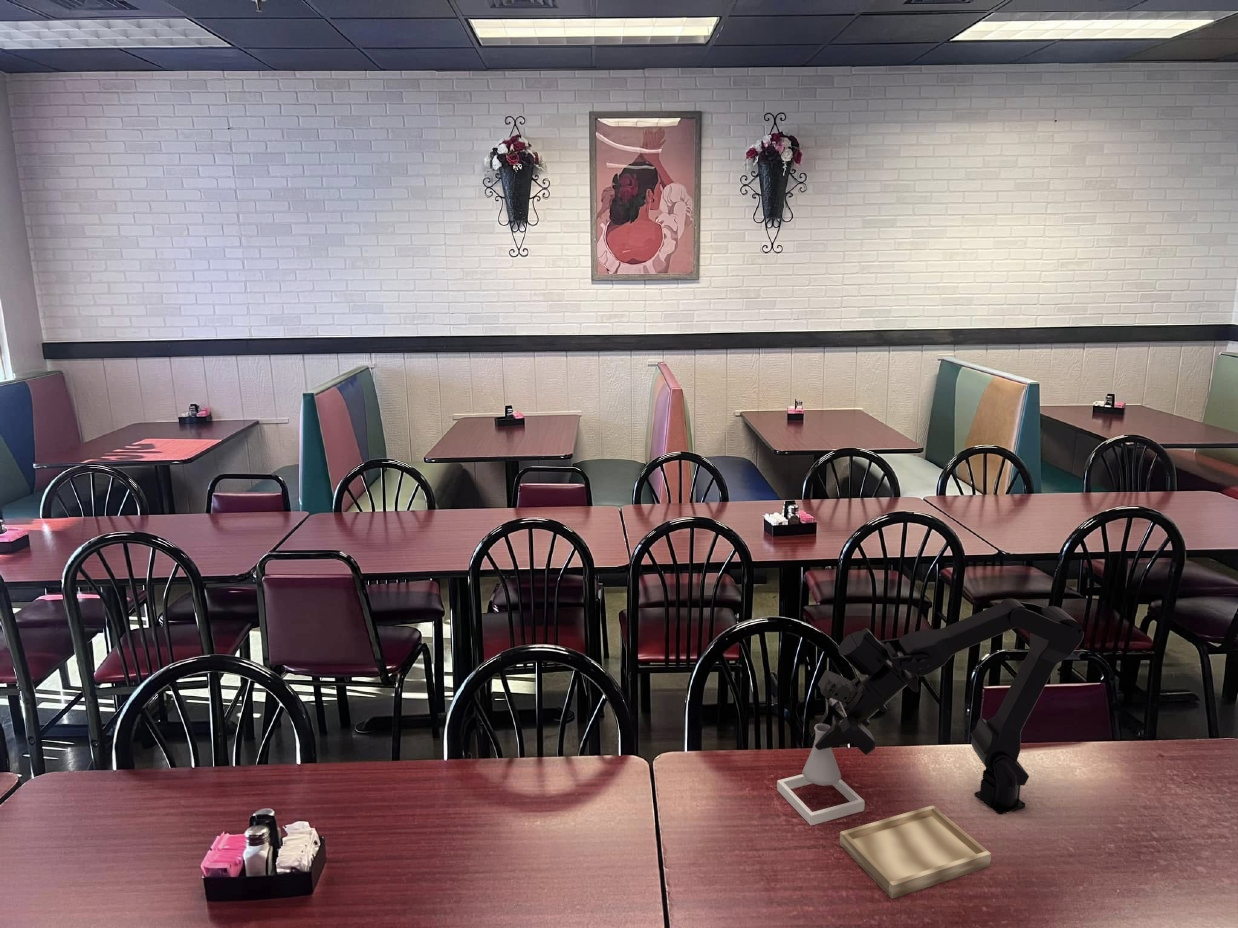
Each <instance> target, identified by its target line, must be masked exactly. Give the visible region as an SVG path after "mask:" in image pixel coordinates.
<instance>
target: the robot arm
mask: <svg viewBox="0 0 1238 928" xmlns="http://www.w3.org/2000/svg"><path fill="white" fill-rule="evenodd" d="M1016 628H1017V629H1021V630H1024V631H1026V632H1029V649H1028V652H1027V654H1026V656H1025V658H1024V660H1023V661H1022V663H1021V665H1020V667H1019V669H1018V671H1017V673H1016V675H1015V677H1014V679H1013V680H1012V683H1011V685H1010V686H1009V688H1008V691H1007V692H1006V695H1005V696H1004V698H1003V700H1002V702H1001V704H1000V706H999V708H998V709H997V711H996V713H995V715H994V716H991V718H989V719H987V720H986V719H984V718H982V717H980V718H979V719H978V721H977V723H976V726H975V728H974V730H973V731H972V732H970V734H969V735H970V736H971V740H970V742H971V743H970V744H971V747H972V749H973V751H974V753H975V754H976V756H977V757H978V758H979V760H980V761H981V763H982V764H983V766H984V767H985V769H983V771H982V779H981V780H980V790H979V791H975V792H974V797H975V798H977V799H978V800H979V801H980V802H982V803H984V804H985V805H986V806H987V807H989V808H990V809H991V810H992V811H994V812H995V813H996V814H998V815H1004V814H1007V813H1011V812H1013V811H1016V810H1021V809H1023V808H1026V802H1024V801H1023V800H1021V799H1020V794H1021V786H1025V785H1026V783H1027V782H1028V780H1029V778H1030V775H1029V774H1028V772H1027V771H1026V770H1025V769H1024V767H1023V766H1022V764H1021V763H1020V762H1019V760H1018V759H1019V756H1020V753H1021V742H1022V739H1021V738H1022V731H1023V728H1024V726H1025V725H1026V723H1027V721H1028V719H1029V718H1030V716H1031V713H1032V712H1033V710H1034V707H1036V704H1037V702H1038V700H1039V698H1040V697H1041V695H1042V692H1043V691H1044V689H1045V687H1046V685H1047V683H1048V681H1049V679H1050V677H1051V675H1052V673H1053V672H1054V671H1055V670H1054V669H1055V668H1056V667H1057V665H1058V664H1059V663H1061V662H1062V661H1064V660H1066V659H1068V658H1069V657H1071V656H1072V655H1073V653H1074V652H1075V651H1076V649H1077V648H1078V647H1079V645H1081V643H1082V641H1083V639H1084V637H1085V631H1084V630H1083V627H1082V625H1081V623H1079V622H1078V620H1075V619H1074V617H1072V616H1071V615H1069V614H1068V613H1067V612H1066V611H1065V610H1063V609H1062V608H1061V607H1058V606H1054V605H1049V606H1046V607H1045V606H1042V605H1038V604H1035V603H1032V602H1025V601H1019V600H1018V599H1015V598H1009V597H1008V598H1005V599H1003V600H1002V601H1000V603H998V604H995V605H993V606H991V607H989V608H987V609H984V610H982V611H979V612H977V613H974V614H972V615H971V616H968V617H966V618H962V619H961V620H959V621H957V622H954V623H952V624H949V625H946V626H944V627H941V628H937V629H936V628H935V629H921V630H917V631H914V632H913V631H912V632H910V633H906V634H904V635H903V636H902V637H899V638H898V637H897V638H890V639H884V640H878V639H877V638H876V637H875V636H874V635H873V633H872V632H871V630H869V628H867V627H864V628H863V629H862V630H861V631H859V630H857V631H854V632H852V633H851V634H850V633H849V634H847V636H845V637H844V639H843V640H842V641H841V643H839V647H838V649H837V650H838V651H837V652H838V654H839V656H841V657H842V658H843V659H844V660H845V661H847V662H848V664H850V666H852V667H853V668H854V669H855V671H857V673H859V674H860V675H862V676H865V677H864V678H861V677H860V676H858V677H857V676H856V677H855V678H853V679H852V680H850V679H848V678H846V677H844V676H842V675H840V674H837V673H835V672H833V671H830V670H829V669H828V670H824V673H823V674H822V676H821V678H820V680H819V681H818V682H817V686H818V687H819V688H820V693H821V695H822V696H824V697H825V699H824V700H825V712H824V714H823V715H822V717H821V719H820V721H819V722H818V724H822V723H823V724H827V725H830V729H829V730H828V731H827V732H826V733H825V734H824V735H823V736H822V737H821V738H820V739H819V741H818V742H817V743H816V744H815V748H817V749H818V750H822V749H826V748H830V747H832V748H835V747H839V746H844V745H851V744H853V745H854V746H855V747H856V748H857V749H858V750H859V751H860V752H862V753H863V754H864V755H865V756H868V755H869V754H870V753H872V752H873V751H874V750H875V749H876V741H875V739H874V736H873V735H872V732H871V731H870V730H869V729H868V728H867V727H869V726H870V725H871V722H870V720H869V719H870V718H871V717H872V716H874V715H875V714H876V713H877V712H878V711H880V712H882V713H884V712H886V711H887V710H888V708H887V707H886V704H888V702H890V701H891V700H892V699H893V698H894V697H895V696H897V695H898V694H899V693H900V692H901V691H902V690H904V688H906V687H908V688H909V689H910V690H911V691H912V692H914V693H918V692H919V679H920V678H919V677H925V676H928V675H930V674H932V673H934V672H935V671H937V670H938V669H940V668H942V667H943V666H945V664H946V663H947V662H948V661H949V660H950V659H951V658H952V656H955V655H956V654H957V653H959V652H961V651H964V650H966V649H969V648H971V647H973V646H976V645H978V644H981V643H983V642H985V641H988V640H990V639H992V638H995V637H997V636H1001V634H1004V633H1007V632H1009V631H1011V630H1014V629H1016ZM815 736H816V731H815V730H814V732H813V733H812V734H811V739H812V740H814V741H815Z"/></svg>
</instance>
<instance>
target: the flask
mask: <svg viewBox="0 0 1238 928" xmlns="http://www.w3.org/2000/svg"><path fill="white" fill-rule="evenodd" d="M813 729H814V731H816V736H815V740H814V741H813V745H812V748H811V751H810V753H809V756H808V758H807V760H806V762H805V765H804V767H803V769H802V772H801V773H802V774H803V776H804V777H805V779H806V781H807V782H811V783H812V784H814V785H818V786H822V787H823V786H824V787H825V786H833V785H836V784H838V782H839V780H840V779H841V778H842V773H841V772H840V768H839V765H838V763H837V761H836V758H835V754H834V751H833V747H830V748H826V749H822V750H818V749H817V748H815V744H816V743H817V742H818V741H819V739H820V738H821V737H822V736H823V735H824V734H825V733H826V732H827V731H828V730H829V729H830V725H827V724H823V723H822V724H819V723H816V724H815V725H814V727H813Z"/></svg>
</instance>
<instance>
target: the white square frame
mask: <svg viewBox="0 0 1238 928" xmlns="http://www.w3.org/2000/svg"><path fill="white" fill-rule="evenodd" d="M812 784H813V783H811V782H807V781H806V779H805V777H804V776H803V774H798V775H795V776H794V775H793V776H790V777H786V778H782V779H778V780H776V790H777V791H778V793H780V795H781V796H782V797H783V798H784V799H785V800H786V802H788V803H789V804H790V805H791V806H792V807H793V809H795V810H796V811H797V813H798V814H799V815H800V816H801V817H802V818H803V819H804V820H805V821H806V823H808V824H809V825H810V826H814V825H818V824H821V823H825V822H828V821H833V820H836V819H839V818H843V817H846V816H850V815H853V814H857V813H861V812H864V811H865V803H866V802H865V800H864V799H863V798H862V797H861V796H860V795H859V794H858V793H857V792H855V791H854V790H853V789H852V788H851V787H850V786H849V785H848V784H847V783H846V782H845V781H843V779H841V778H840V780H839V782H838V784H836V785H832V786H833V788H835V789H836V790H837V791H838V792H839V793H840V794H841V795H843V796H844V798H845V799H847V800H848V801H849V802H845V803H842V804H837V805H835V806H831V807H827V808H823V809H820V810H819V809H818V810H816V811H812V809H810V808H809V807H808V806H807V805H806V804H805V803H804V802H803V800H801V799H800V797H798V796H797V795H796V793H795V792H793V791H792V790H793V789H797V788H800V787H804V786H807V785H812Z"/></svg>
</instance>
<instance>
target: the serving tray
mask: <svg viewBox="0 0 1238 928" xmlns="http://www.w3.org/2000/svg"><path fill="white" fill-rule="evenodd" d="M839 846H840V847H841V848H843V850H845V852H846V853H847V854H848V855H849V856H850V857H851V858H852V859H853V860H854V861H855V862H856V864H858V865H859V866H860V868H862V869H863V871H864V872H865V873H867V875H868V876H869V877H870V878H871V879H872V880H873V881H874V882H875V883H876V884H877V885H878V886H879V887H880V889H882V890H883V891H884V892H885V893H886V894H887V896H888V897H890V898H891V900H893V899H896V898H900V897H902V896H905V895H907V894H911V893H914V892H918V891H921V890H923V889H927V888H929V887H932V886H936V885H939V884H941V883H944V882H949V881H951V880H953V879H956V878H960V877H963V876H965V875H969V874H972V873H975V872H977V871H981V870H984V869H986V868H989V867H991V859H992V853H991V852H990V851H989V850H987V849H986V848H985V847H984V846H983V845H981V844H980V843H979V842H978V841H976V840H975V839H974V838H973V837H971V835H969V833H966V831H964V830H963V829H962V828H961V827H960V826H958V825H957V824H956V823H955V822H953V820H951V819H950V818H948V817H947V816H946V815H945V814H944V813H943V812H941V810H939V809H938V808H937V807H936V806H934V805H933V804H932V805H928V806H925V807H922V808H918V809H915V810H912V811H908V812H904V813H901V814H897V815H894V816H891V817H887V818H884V819H880V820H877V821H873V822H871V823H867V824H862V825H858V826H856V827H853V828H849V829H846V830H842V831H840V832H839Z"/></svg>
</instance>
